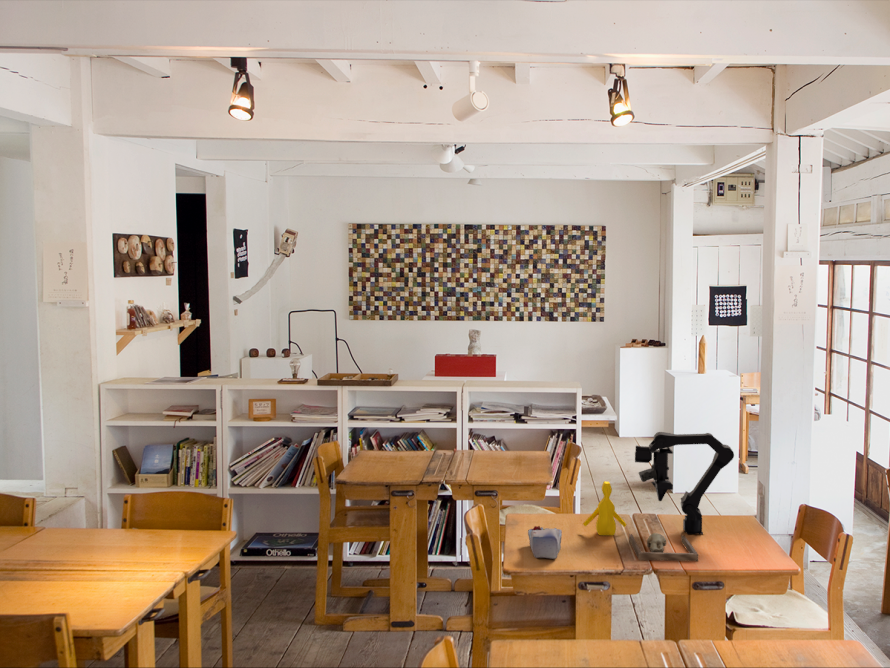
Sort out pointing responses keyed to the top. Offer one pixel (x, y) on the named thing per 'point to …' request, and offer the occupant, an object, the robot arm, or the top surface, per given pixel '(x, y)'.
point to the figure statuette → (605, 514)
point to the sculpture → (656, 542)
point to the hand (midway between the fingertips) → (659, 500)
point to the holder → (666, 556)
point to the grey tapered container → (545, 542)
